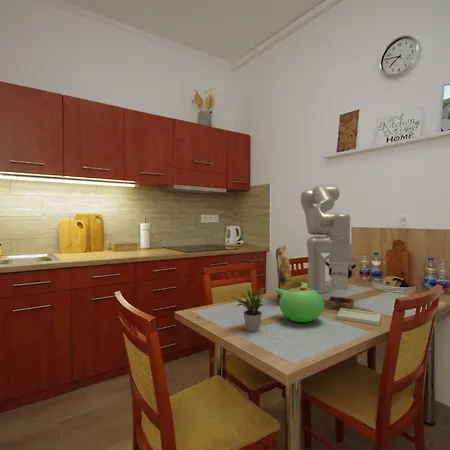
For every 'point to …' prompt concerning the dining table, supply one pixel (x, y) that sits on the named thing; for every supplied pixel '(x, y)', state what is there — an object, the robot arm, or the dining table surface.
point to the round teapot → (300, 303)
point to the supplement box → (339, 276)
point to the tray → (359, 316)
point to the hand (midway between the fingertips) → (340, 276)
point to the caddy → (340, 303)
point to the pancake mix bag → (283, 270)
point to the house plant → (252, 309)
